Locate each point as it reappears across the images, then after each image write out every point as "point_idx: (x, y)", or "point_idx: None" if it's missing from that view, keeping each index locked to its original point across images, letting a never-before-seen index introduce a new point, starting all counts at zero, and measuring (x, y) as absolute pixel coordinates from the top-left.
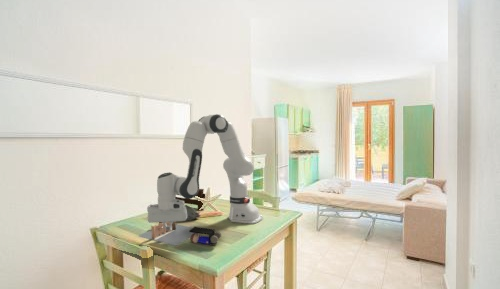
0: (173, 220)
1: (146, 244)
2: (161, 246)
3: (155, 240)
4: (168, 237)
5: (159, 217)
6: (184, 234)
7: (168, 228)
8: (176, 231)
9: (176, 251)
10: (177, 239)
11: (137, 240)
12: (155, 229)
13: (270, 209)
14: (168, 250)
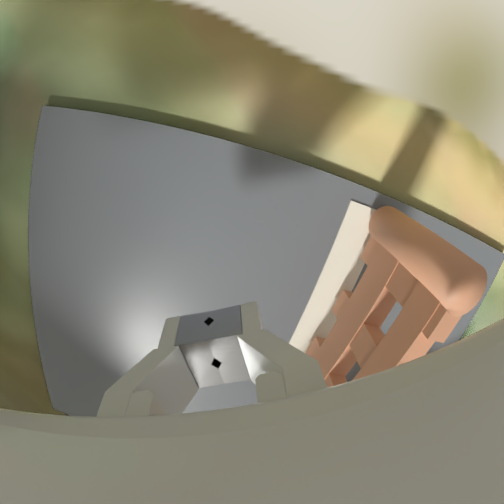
0: (33, 428)
1: (394, 101)
2: (197, 65)
3: (343, 181)
4: (230, 273)
5: (460, 475)
6: (114, 348)
7: (196, 321)
8: (227, 390)
9: (15, 37)
10: (103, 243)
11: (490, 189)
12: (414, 284)
13: None
14: (81, 18)
